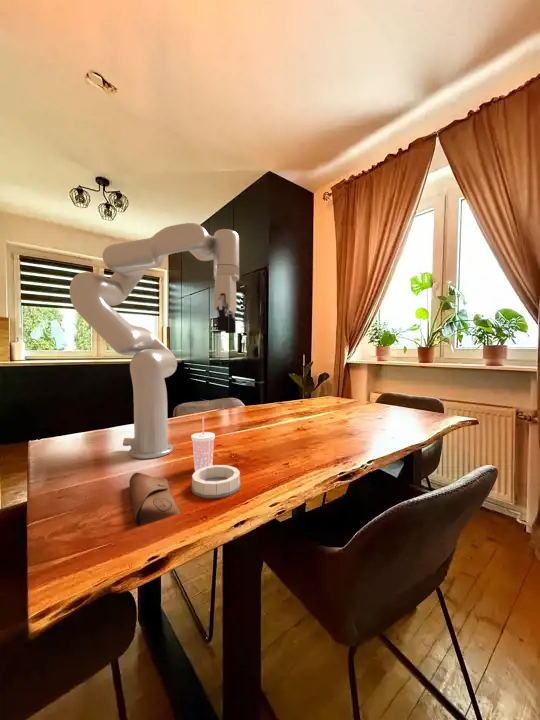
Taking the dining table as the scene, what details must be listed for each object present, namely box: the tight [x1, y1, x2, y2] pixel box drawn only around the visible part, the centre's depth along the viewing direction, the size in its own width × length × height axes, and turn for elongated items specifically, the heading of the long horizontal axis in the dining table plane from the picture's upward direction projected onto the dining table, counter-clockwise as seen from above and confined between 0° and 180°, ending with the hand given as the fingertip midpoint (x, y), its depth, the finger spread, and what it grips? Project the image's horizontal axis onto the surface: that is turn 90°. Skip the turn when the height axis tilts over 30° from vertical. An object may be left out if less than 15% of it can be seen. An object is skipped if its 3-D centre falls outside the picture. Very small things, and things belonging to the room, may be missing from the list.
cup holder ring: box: [191, 464, 241, 499], centre depth 68 cm, size 11×11×3 cm
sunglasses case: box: [128, 472, 181, 526], centre depth 63 cm, size 18×7×7 cm
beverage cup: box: [191, 415, 216, 472], centre depth 79 cm, size 6×6×14 cm
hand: (227, 331), depth 90 cm, fingers open, 9 cm apart
